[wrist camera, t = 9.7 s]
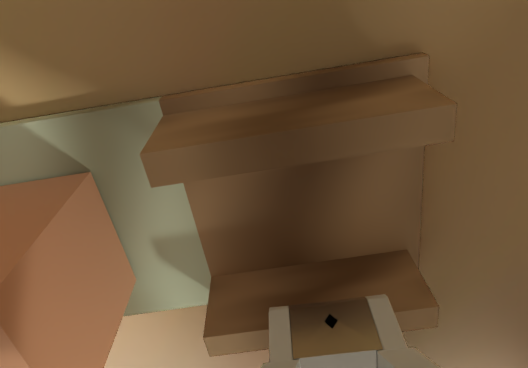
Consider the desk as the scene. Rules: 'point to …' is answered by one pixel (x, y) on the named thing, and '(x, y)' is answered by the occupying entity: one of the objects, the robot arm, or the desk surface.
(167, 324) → the desk surface
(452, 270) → the desk surface
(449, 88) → the desk surface
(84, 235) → the block
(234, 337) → the chute
